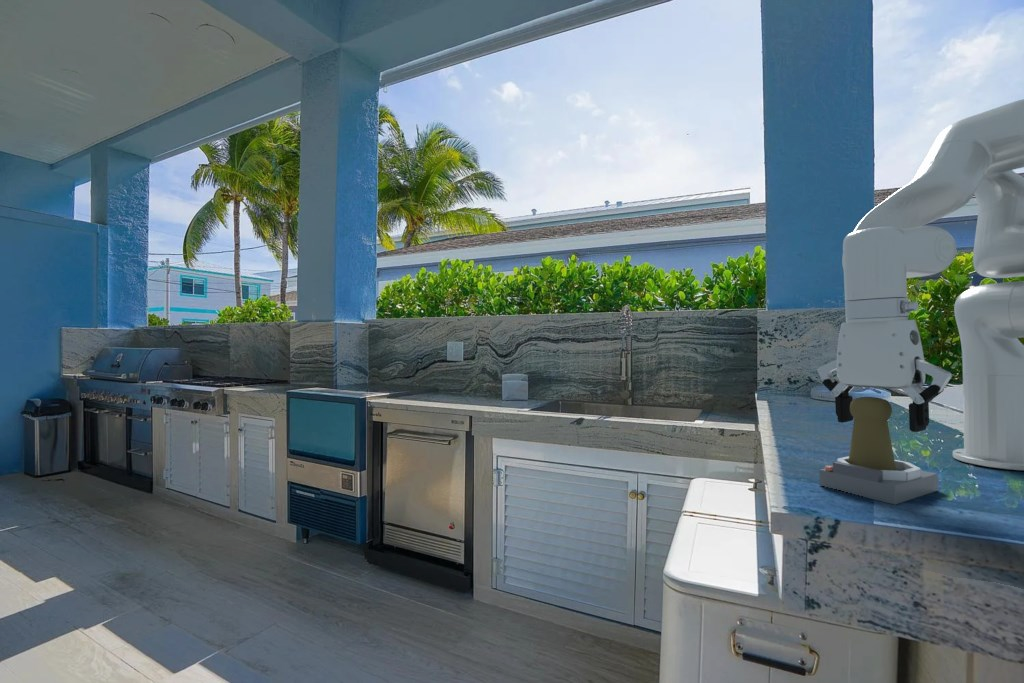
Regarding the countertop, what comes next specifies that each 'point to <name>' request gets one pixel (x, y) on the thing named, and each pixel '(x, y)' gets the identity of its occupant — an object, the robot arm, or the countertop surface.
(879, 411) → the cork
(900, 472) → the octagon ring plate
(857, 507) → the countertop surface
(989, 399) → the robot arm
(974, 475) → the countertop surface
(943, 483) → the countertop surface
